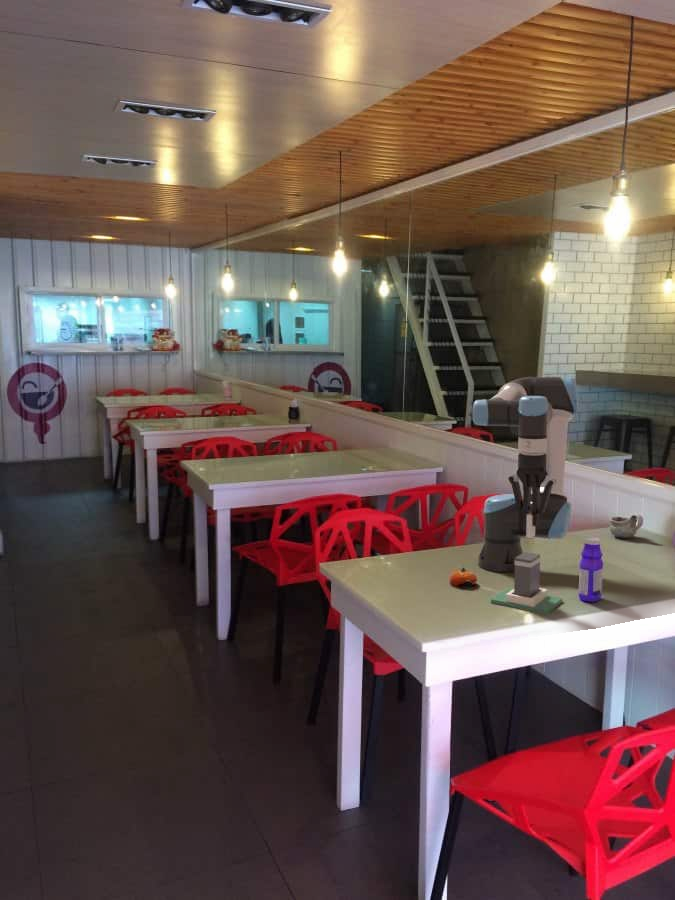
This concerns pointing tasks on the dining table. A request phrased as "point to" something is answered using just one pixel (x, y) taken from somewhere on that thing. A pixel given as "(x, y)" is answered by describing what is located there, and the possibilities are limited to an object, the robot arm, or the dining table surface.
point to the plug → (527, 574)
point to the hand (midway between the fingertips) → (530, 536)
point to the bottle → (591, 571)
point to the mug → (625, 525)
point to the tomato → (462, 577)
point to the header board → (528, 601)
